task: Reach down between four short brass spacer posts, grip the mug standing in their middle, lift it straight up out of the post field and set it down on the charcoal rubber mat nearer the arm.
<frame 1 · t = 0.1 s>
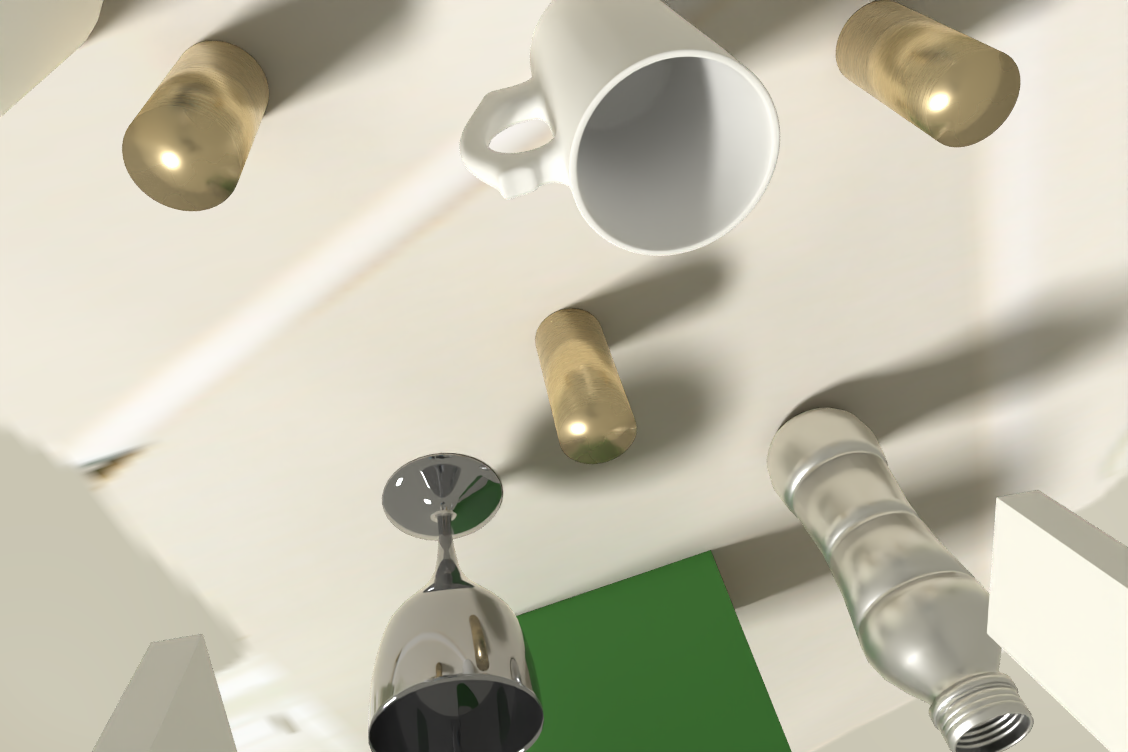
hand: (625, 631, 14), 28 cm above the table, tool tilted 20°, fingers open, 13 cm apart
wine glass: (442, 496, 49), on the table
hardback book: (602, 619, 59), on the table
plastic bottle: (805, 433, 51), on the table
spacer posts: (563, 63, 35), on the table
mug: (563, 62, 36), on the table
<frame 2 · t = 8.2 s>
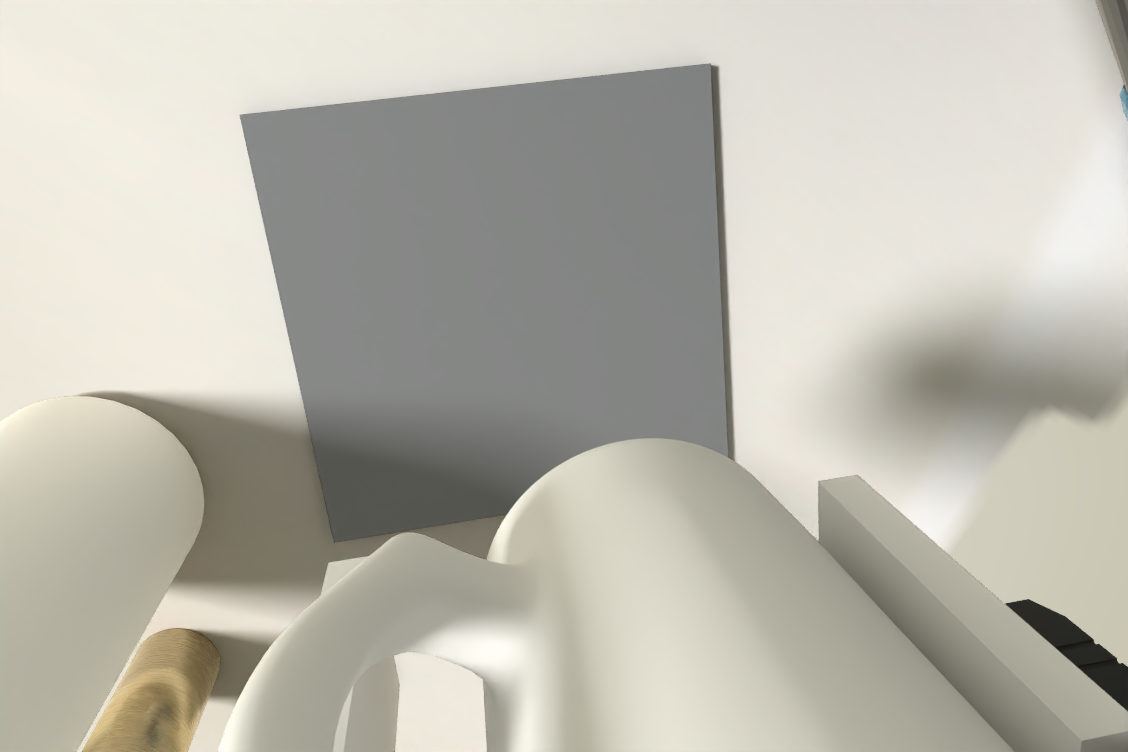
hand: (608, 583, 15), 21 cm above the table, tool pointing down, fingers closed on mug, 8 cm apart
mat: (510, 313, 35), on the table
alcohol: (100, 486, 35), on the table
mug: (565, 542, 16), point 20 cm above the table, touching gripper
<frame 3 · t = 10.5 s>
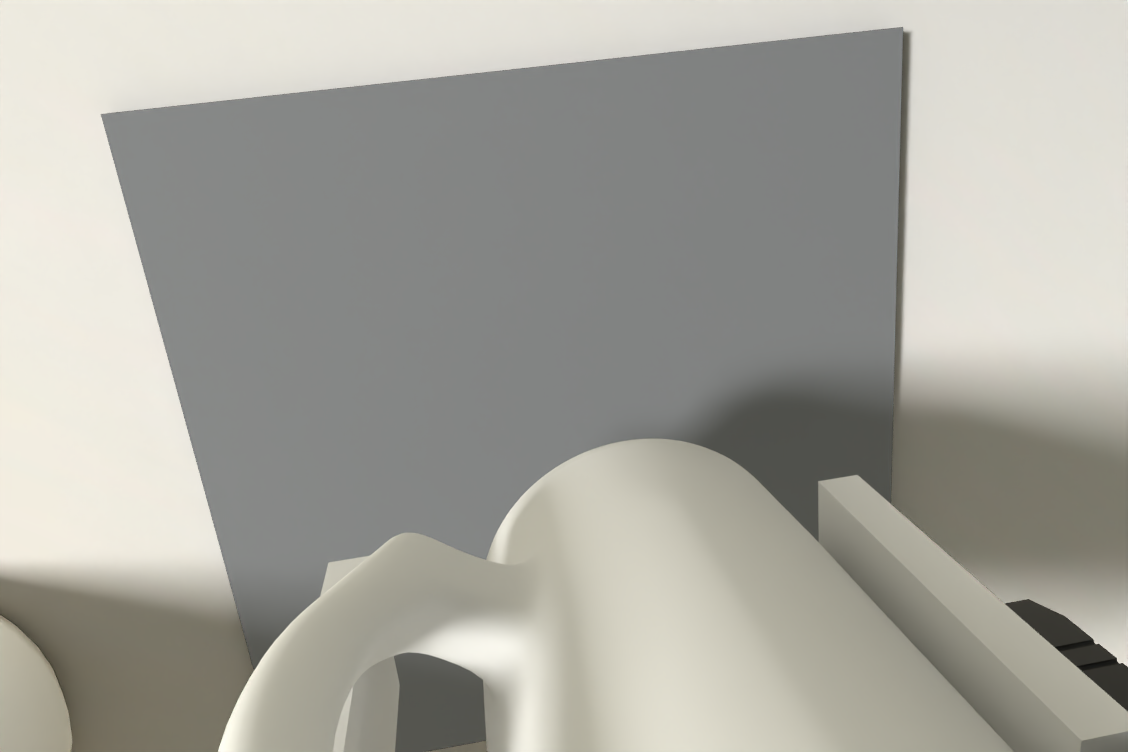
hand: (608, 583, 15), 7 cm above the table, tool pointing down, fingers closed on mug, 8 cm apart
mat: (561, 431, 22), on the table
mug: (565, 543, 16), point 6 cm above the table, touching gripper
when the fingers open (3 cm above the table, at t = 12.3 s): mug drops 1 cm, resting on mat.
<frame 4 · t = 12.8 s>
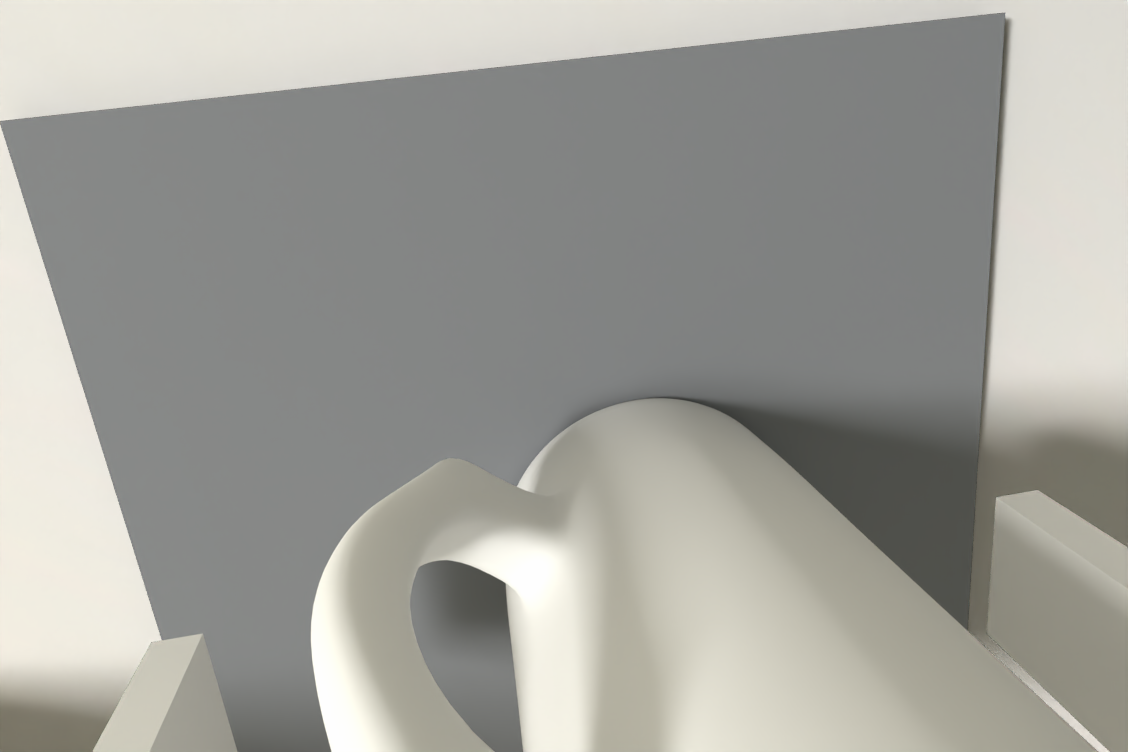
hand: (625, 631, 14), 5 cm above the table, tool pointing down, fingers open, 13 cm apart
mat: (579, 502, 18), on the table
mug: (582, 492, 18), resting on mat
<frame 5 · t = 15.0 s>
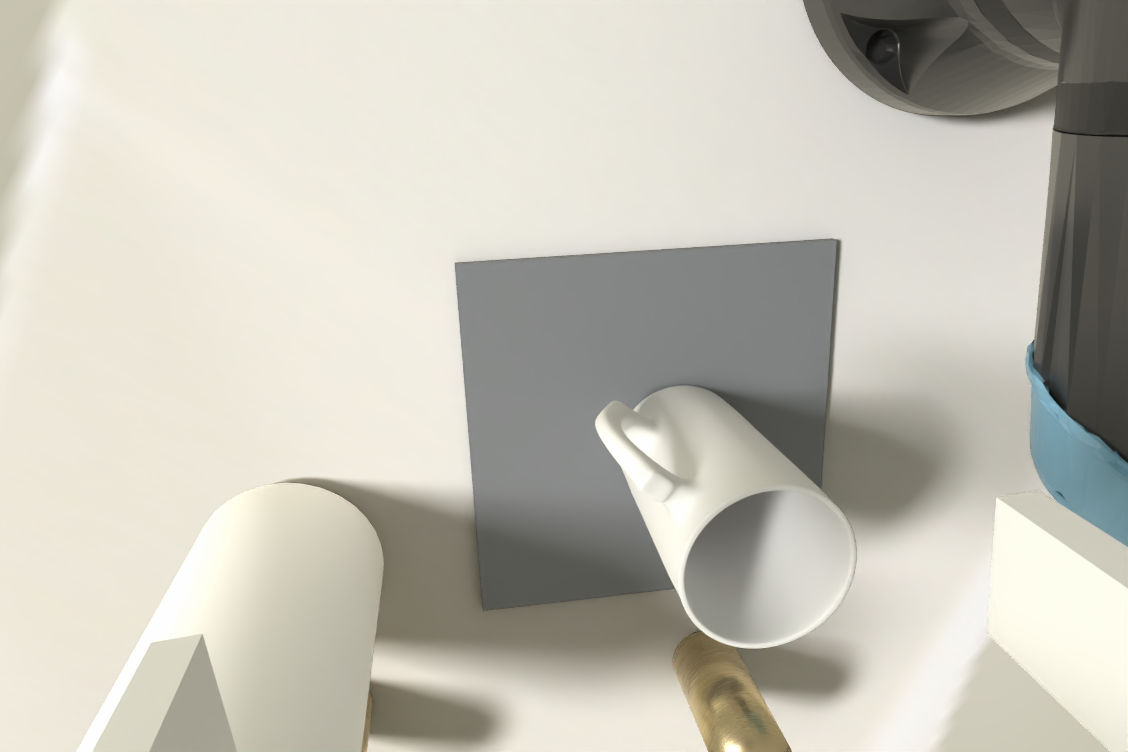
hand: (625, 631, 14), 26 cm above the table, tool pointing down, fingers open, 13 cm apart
mat: (650, 429, 41), on the table
alcohol: (294, 554, 41), on the table
mug: (652, 424, 41), resting on mat
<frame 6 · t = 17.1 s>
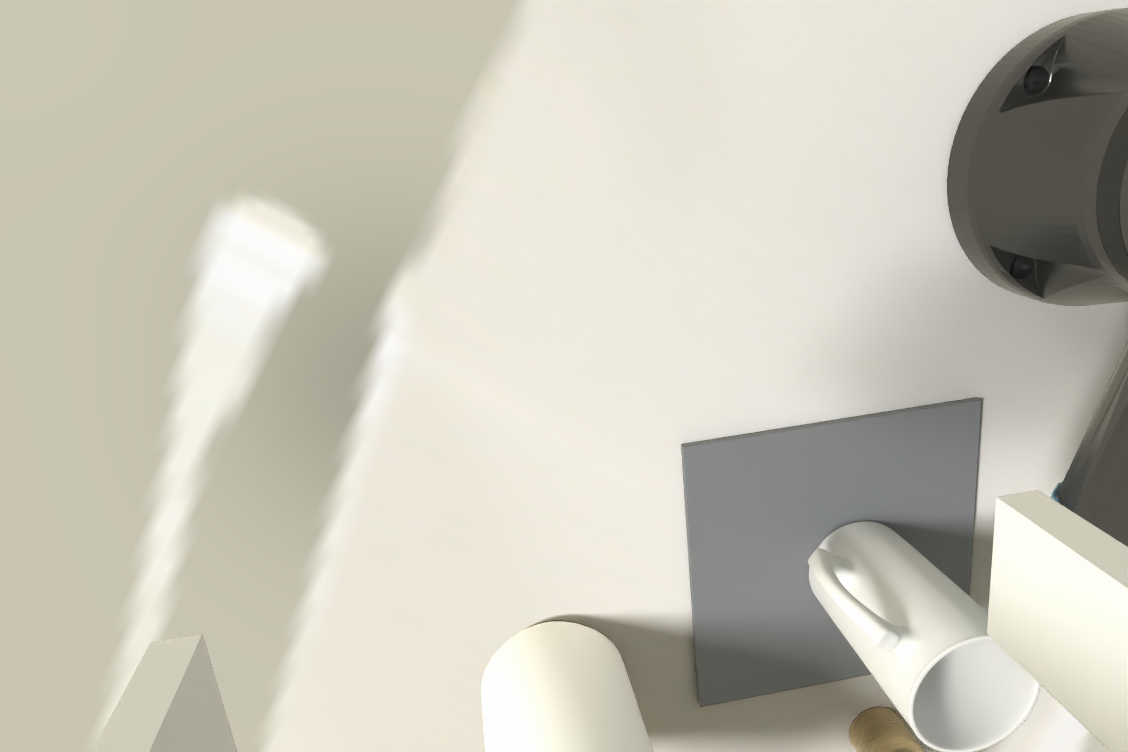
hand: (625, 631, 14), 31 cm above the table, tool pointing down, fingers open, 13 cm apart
mat: (831, 555, 51), on the table
alcohol: (552, 673, 51), on the table
mug: (834, 552, 50), resting on mat
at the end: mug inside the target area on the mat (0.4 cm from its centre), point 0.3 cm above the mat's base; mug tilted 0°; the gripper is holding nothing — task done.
